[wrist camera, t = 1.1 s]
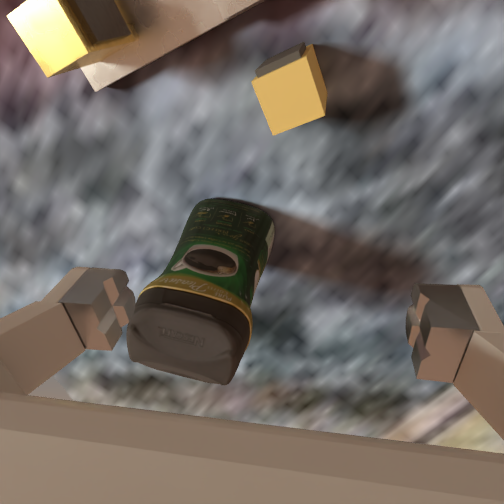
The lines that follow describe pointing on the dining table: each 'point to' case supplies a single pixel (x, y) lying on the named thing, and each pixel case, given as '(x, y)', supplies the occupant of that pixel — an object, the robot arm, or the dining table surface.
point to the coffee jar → (204, 294)
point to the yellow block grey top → (291, 88)
